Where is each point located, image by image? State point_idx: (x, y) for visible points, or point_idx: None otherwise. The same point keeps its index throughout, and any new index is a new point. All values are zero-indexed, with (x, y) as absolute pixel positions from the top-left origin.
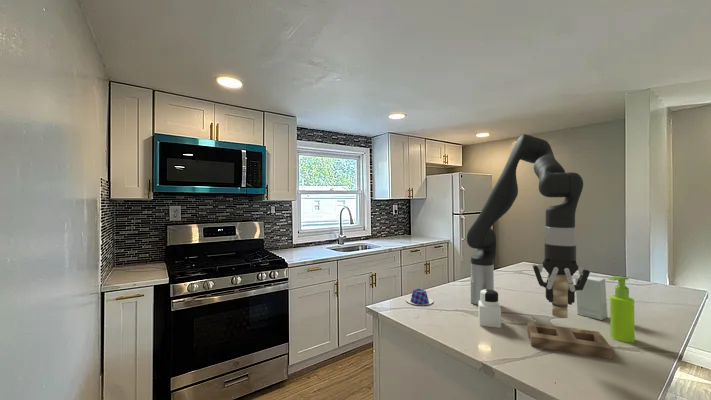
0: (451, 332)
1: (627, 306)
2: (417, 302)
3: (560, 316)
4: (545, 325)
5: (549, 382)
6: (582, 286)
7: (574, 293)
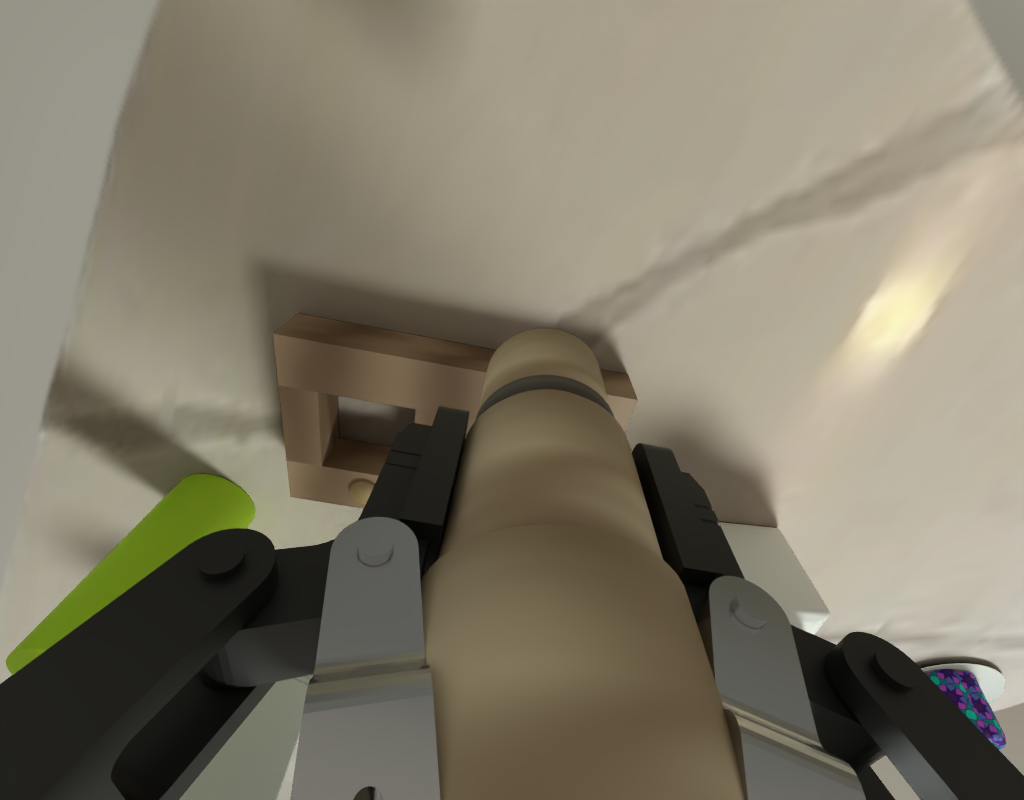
0: (975, 447)
1: (68, 616)
2: (961, 679)
3: (561, 337)
4: None
5: None
6: (157, 596)
7: (365, 510)
